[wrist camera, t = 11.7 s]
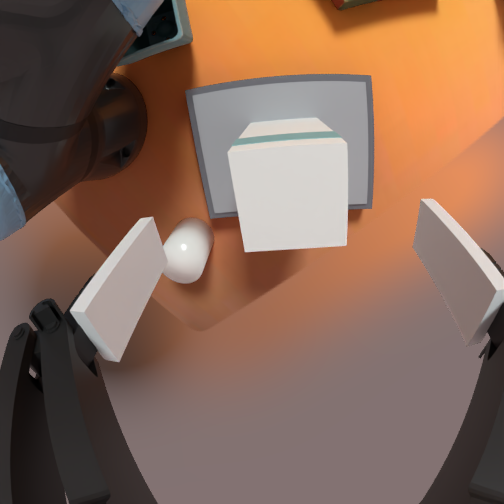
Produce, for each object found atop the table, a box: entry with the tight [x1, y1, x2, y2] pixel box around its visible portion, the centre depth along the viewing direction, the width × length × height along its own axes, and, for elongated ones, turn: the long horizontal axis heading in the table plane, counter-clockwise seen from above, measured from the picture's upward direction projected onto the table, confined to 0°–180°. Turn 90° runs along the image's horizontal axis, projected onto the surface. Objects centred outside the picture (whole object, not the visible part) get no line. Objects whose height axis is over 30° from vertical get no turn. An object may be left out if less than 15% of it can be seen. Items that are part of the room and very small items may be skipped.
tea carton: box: [227, 118, 348, 252], centre depth 23 cm, size 7×7×14 cm
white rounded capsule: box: [163, 218, 214, 283], centre depth 37 cm, size 6×6×7 cm
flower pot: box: [116, 0, 193, 67], centre depth 20 cm, size 9×9×9 cm
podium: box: [185, 74, 374, 219], centre depth 30 cm, size 20×16×3 cm
